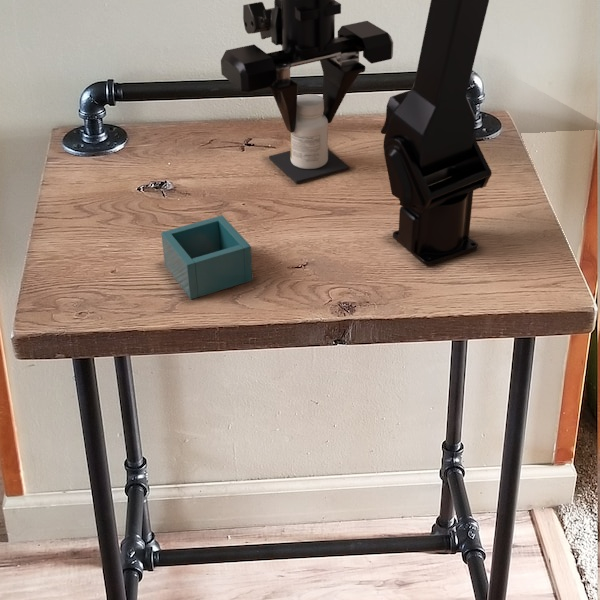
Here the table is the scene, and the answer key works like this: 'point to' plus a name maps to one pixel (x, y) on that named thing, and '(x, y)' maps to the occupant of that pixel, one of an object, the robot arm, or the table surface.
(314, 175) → the mat
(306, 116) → the pill bottle
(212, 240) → the holder
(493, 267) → the table surface
